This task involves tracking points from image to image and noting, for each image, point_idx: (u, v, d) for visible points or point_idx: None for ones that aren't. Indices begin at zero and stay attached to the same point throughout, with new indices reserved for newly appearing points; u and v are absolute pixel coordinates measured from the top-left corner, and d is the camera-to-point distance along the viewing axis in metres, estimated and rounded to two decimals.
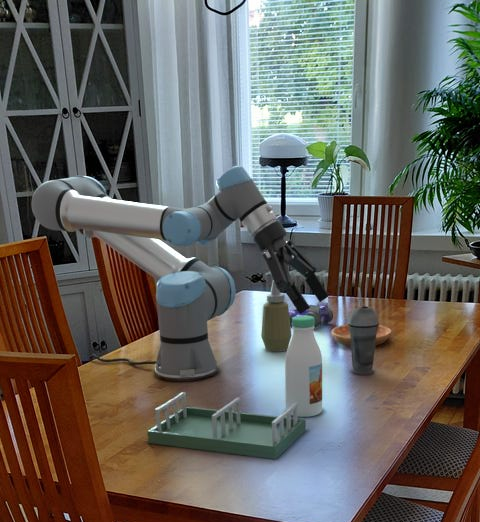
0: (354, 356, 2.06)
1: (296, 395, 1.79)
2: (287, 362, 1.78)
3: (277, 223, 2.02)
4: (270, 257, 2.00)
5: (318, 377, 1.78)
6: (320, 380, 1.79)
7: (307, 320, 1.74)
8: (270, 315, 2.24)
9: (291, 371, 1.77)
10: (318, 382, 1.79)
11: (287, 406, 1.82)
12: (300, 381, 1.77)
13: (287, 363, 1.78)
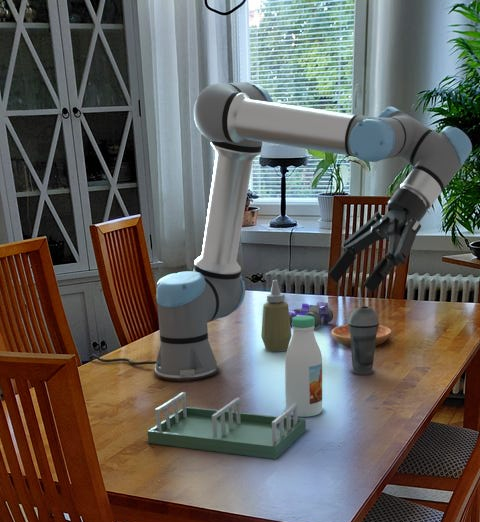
0: (354, 356, 2.06)
1: (296, 395, 1.79)
2: (287, 362, 1.78)
3: None
4: (413, 229, 1.71)
5: (318, 377, 1.78)
6: (320, 380, 1.79)
7: (307, 320, 1.74)
8: (270, 315, 2.24)
9: (291, 371, 1.77)
10: (318, 382, 1.79)
11: (287, 406, 1.82)
12: (300, 381, 1.77)
13: (287, 363, 1.78)
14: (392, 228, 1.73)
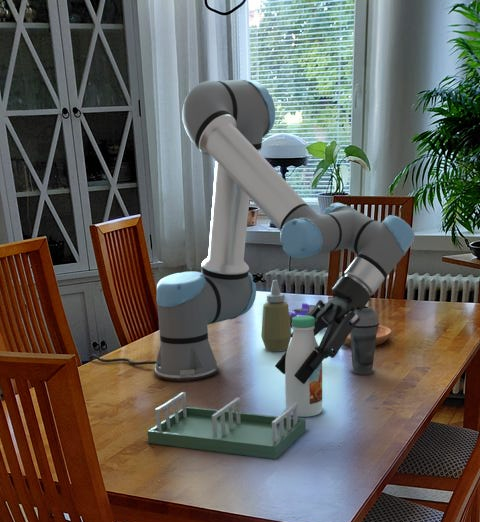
0: (354, 356, 2.06)
1: (296, 395, 1.79)
2: (287, 362, 1.78)
3: None
4: (350, 322, 1.73)
5: (318, 377, 1.78)
6: (320, 380, 1.79)
7: (307, 320, 1.74)
8: (270, 315, 2.24)
9: (291, 371, 1.77)
10: (318, 382, 1.79)
11: (287, 406, 1.82)
12: None
13: (287, 363, 1.78)
14: (332, 318, 1.75)
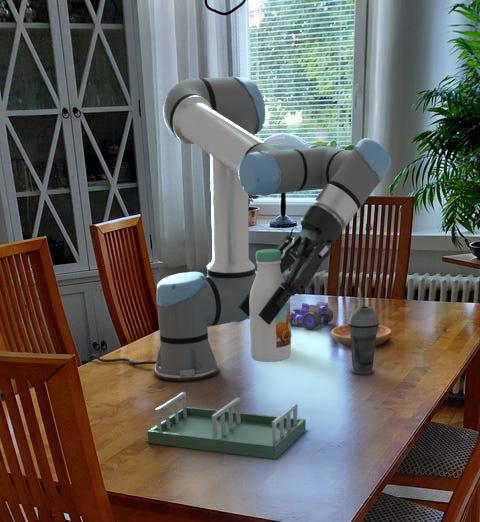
0: (354, 356, 2.06)
1: (261, 338, 1.63)
2: (251, 301, 1.61)
3: None
4: (320, 255, 1.57)
5: (286, 318, 1.62)
6: (288, 321, 1.63)
7: (272, 253, 1.57)
8: None
9: (255, 310, 1.61)
10: (285, 323, 1.62)
11: (252, 351, 1.65)
12: (265, 322, 1.61)
13: (251, 302, 1.61)
14: (299, 251, 1.59)
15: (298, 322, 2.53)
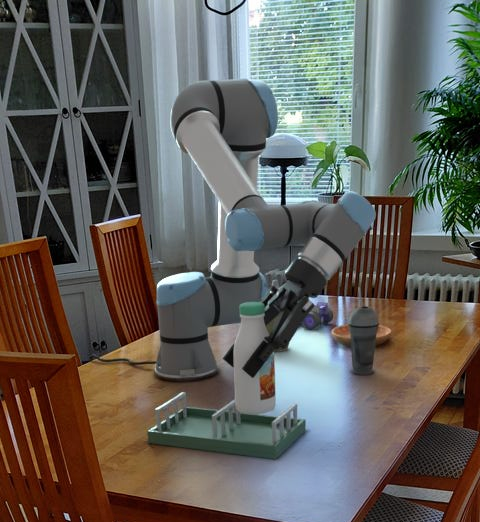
0: (354, 356, 2.06)
1: (245, 390, 1.62)
2: (235, 354, 1.61)
3: None
4: (303, 309, 1.56)
5: (270, 370, 1.61)
6: (272, 374, 1.62)
7: (256, 307, 1.56)
8: None
9: (239, 363, 1.60)
10: (269, 376, 1.61)
11: (236, 403, 1.65)
12: None
13: (235, 355, 1.61)
14: (283, 304, 1.58)
15: None
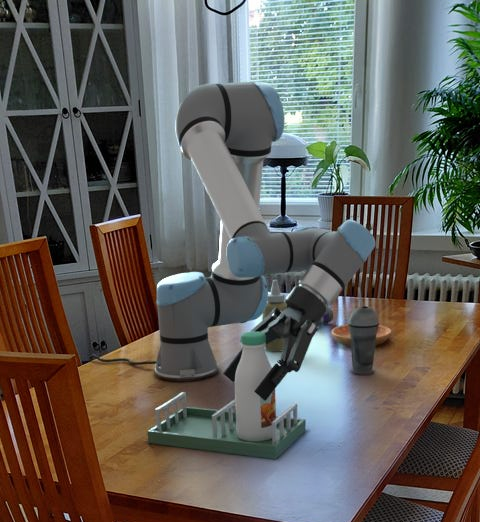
0: (354, 356, 2.06)
1: (246, 418, 1.64)
2: (236, 382, 1.63)
3: None
4: (309, 333, 1.58)
5: (270, 399, 1.63)
6: (273, 402, 1.64)
7: (257, 337, 1.59)
8: None
9: (240, 392, 1.63)
10: (270, 404, 1.64)
11: (238, 430, 1.67)
12: (250, 403, 1.62)
13: (236, 383, 1.63)
14: (287, 330, 1.60)
15: None
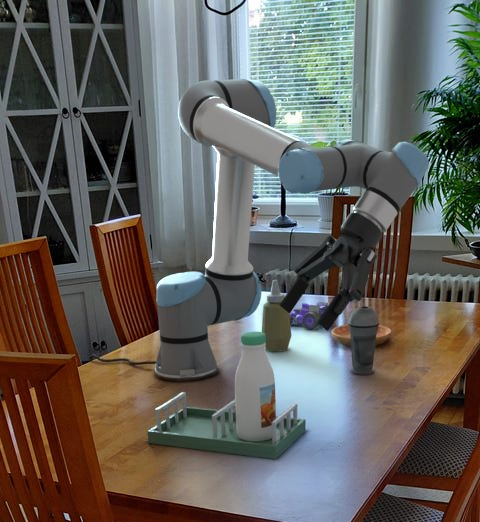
0: (354, 356, 2.06)
1: (246, 418, 1.64)
2: (236, 382, 1.63)
3: None
4: (368, 260, 1.59)
5: (270, 399, 1.63)
6: (273, 402, 1.64)
7: (257, 337, 1.59)
8: (270, 315, 2.24)
9: (240, 392, 1.63)
10: (270, 404, 1.64)
11: (238, 430, 1.67)
12: (250, 403, 1.62)
13: (236, 383, 1.63)
14: (346, 258, 1.60)
15: (298, 322, 2.53)
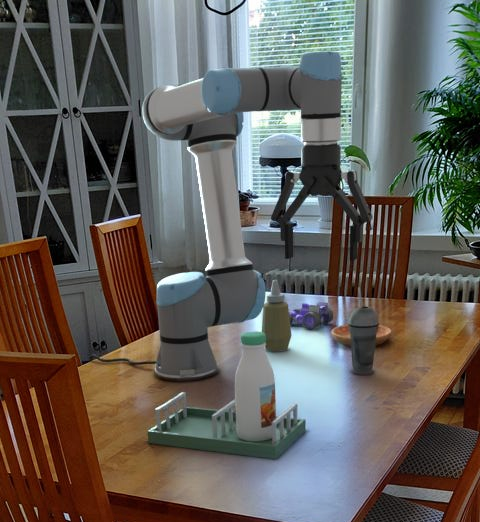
0: (354, 356, 2.06)
1: (246, 418, 1.64)
2: (236, 382, 1.63)
3: None
4: (355, 181, 1.65)
5: (270, 399, 1.63)
6: (273, 402, 1.64)
7: (257, 337, 1.59)
8: (270, 315, 2.24)
9: (240, 392, 1.63)
10: (270, 404, 1.64)
11: (238, 430, 1.67)
12: (250, 403, 1.62)
13: (236, 383, 1.63)
14: (333, 191, 1.66)
15: (298, 322, 2.53)
